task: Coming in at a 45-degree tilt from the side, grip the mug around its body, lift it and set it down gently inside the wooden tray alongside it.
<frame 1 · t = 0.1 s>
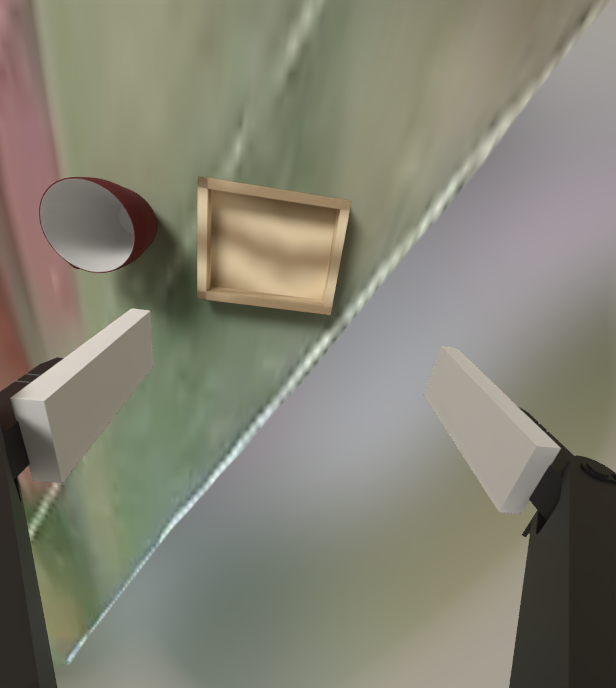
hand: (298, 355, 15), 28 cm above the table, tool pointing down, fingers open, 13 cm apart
wooden tray: (272, 247, 40), on the table
mug: (131, 227, 38), on the table
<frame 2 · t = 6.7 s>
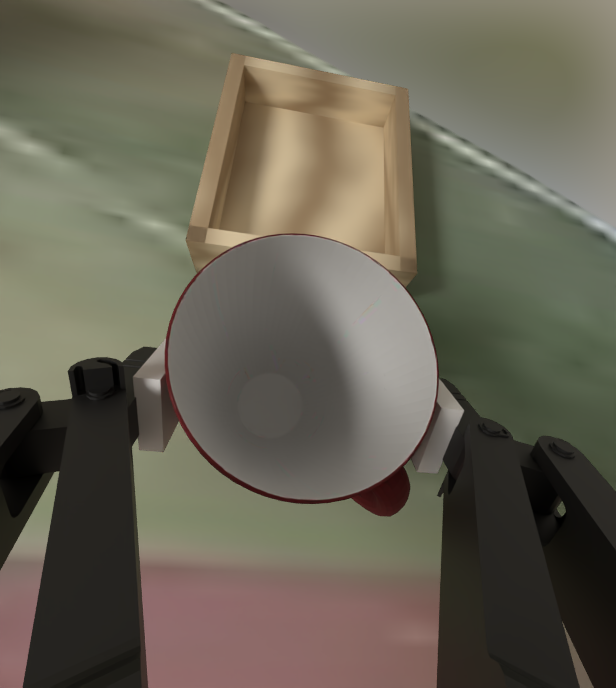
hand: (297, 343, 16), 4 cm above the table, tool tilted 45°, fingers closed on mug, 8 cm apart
wooden tray: (307, 193, 24), on the table
mug: (285, 420, 19), on the table, touching gripper
when the fingers open (6 cm above the table, at t = 11.9 s): mug moves 1 cm, resting on wooden tray.
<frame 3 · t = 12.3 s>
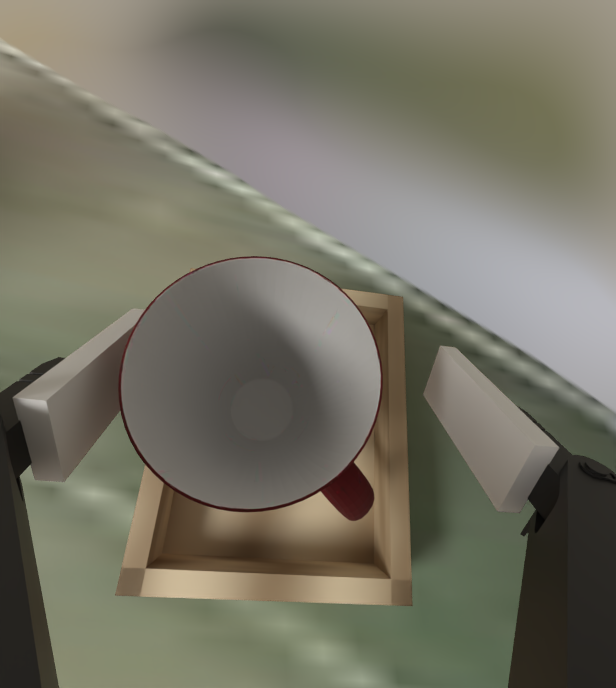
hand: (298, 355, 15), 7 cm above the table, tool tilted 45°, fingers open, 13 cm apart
wooden tray: (283, 423, 20), on the table
mug: (278, 423, 20), point 1 cm above the table, touching wooden tray
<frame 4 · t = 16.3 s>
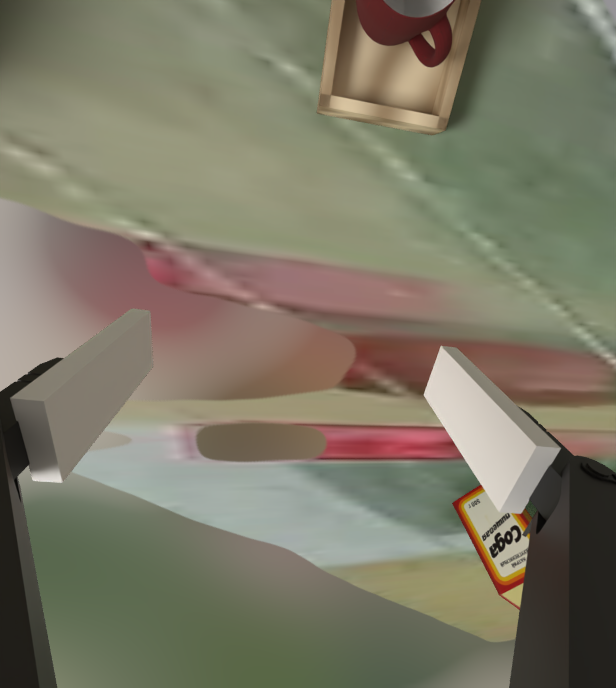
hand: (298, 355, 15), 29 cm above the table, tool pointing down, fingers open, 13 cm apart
wooden tray: (394, 29, 32), on the table
baking soda box: (482, 496, 62), on the table
mug: (392, 26, 32), point 1 cm above the table, touching wooden tray
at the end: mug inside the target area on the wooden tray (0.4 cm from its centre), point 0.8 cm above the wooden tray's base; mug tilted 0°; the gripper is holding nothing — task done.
